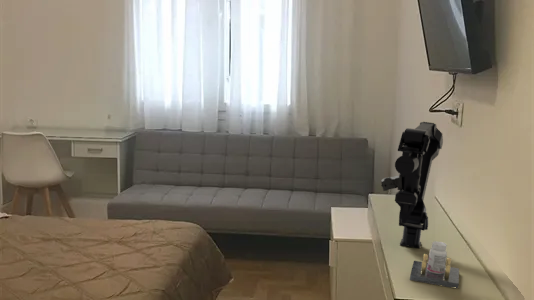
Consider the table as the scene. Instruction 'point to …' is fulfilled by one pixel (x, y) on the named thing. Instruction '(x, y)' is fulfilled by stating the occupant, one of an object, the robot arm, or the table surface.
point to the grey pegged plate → (423, 275)
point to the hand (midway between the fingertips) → (405, 219)
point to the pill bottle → (437, 258)
